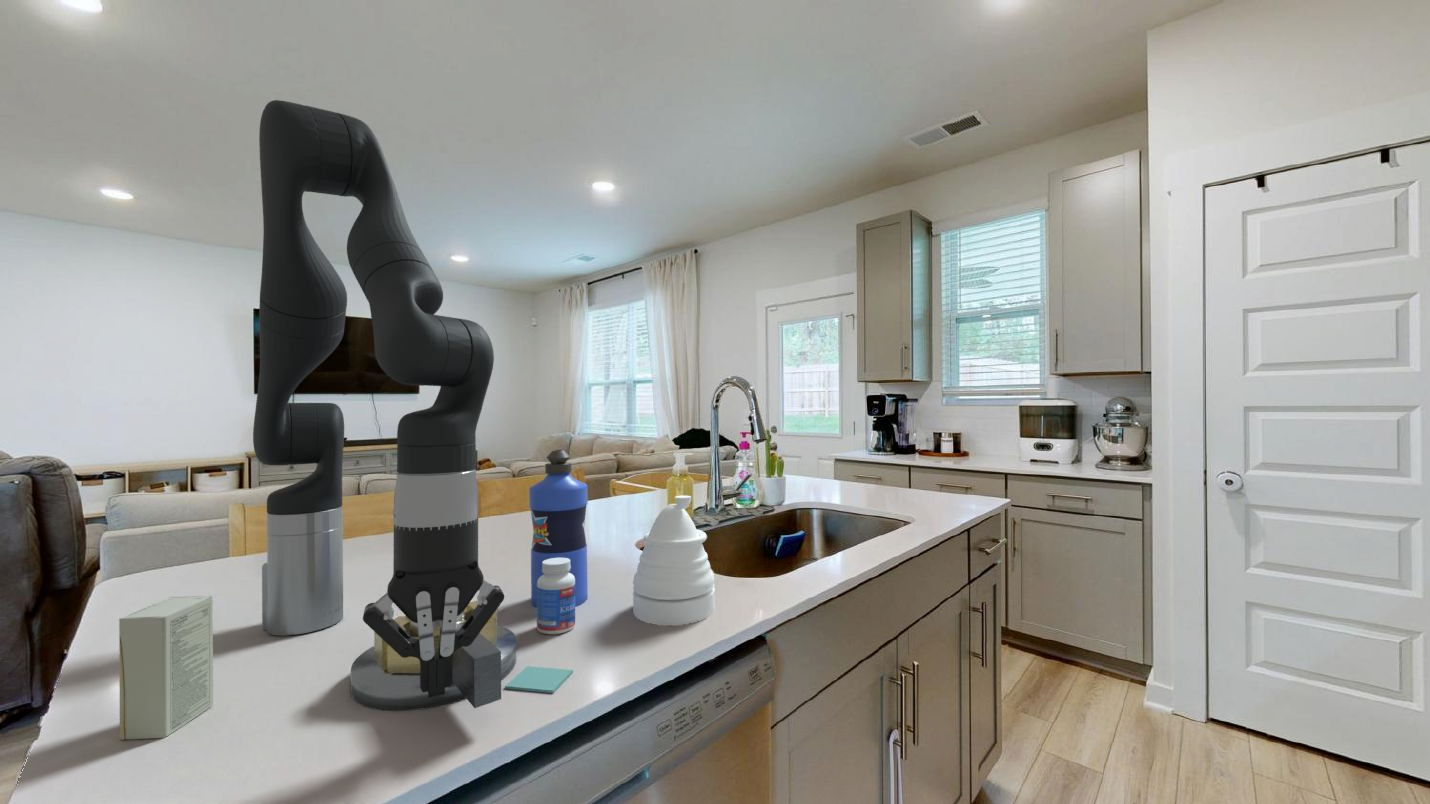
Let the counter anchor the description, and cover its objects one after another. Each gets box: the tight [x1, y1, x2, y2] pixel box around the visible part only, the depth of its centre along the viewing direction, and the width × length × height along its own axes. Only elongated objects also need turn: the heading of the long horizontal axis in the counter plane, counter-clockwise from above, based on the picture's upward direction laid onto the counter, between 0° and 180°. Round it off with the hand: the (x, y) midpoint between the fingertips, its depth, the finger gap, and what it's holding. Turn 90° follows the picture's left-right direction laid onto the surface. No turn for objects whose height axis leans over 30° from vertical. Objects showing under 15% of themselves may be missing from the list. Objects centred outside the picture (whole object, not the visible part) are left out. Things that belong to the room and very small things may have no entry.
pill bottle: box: [536, 558, 576, 635], centre depth 82 cm, size 6×5×10 cm
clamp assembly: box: [373, 600, 502, 709], centre depth 65 cm, size 24×13×5 cm, turn 41°
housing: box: [350, 610, 517, 712], centre depth 69 cm, size 18×18×9 cm
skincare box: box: [118, 595, 214, 741], centre depth 58 cm, size 6×4×12 cm
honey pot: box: [632, 494, 716, 626], centre depth 89 cm, size 13×13×18 cm
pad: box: [504, 665, 574, 694], centre depth 67 cm, size 6×5×1 cm
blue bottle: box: [528, 449, 589, 609], centre depth 94 cm, size 9×9×25 cm
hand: (436, 692), depth 56 cm, fingers closed
